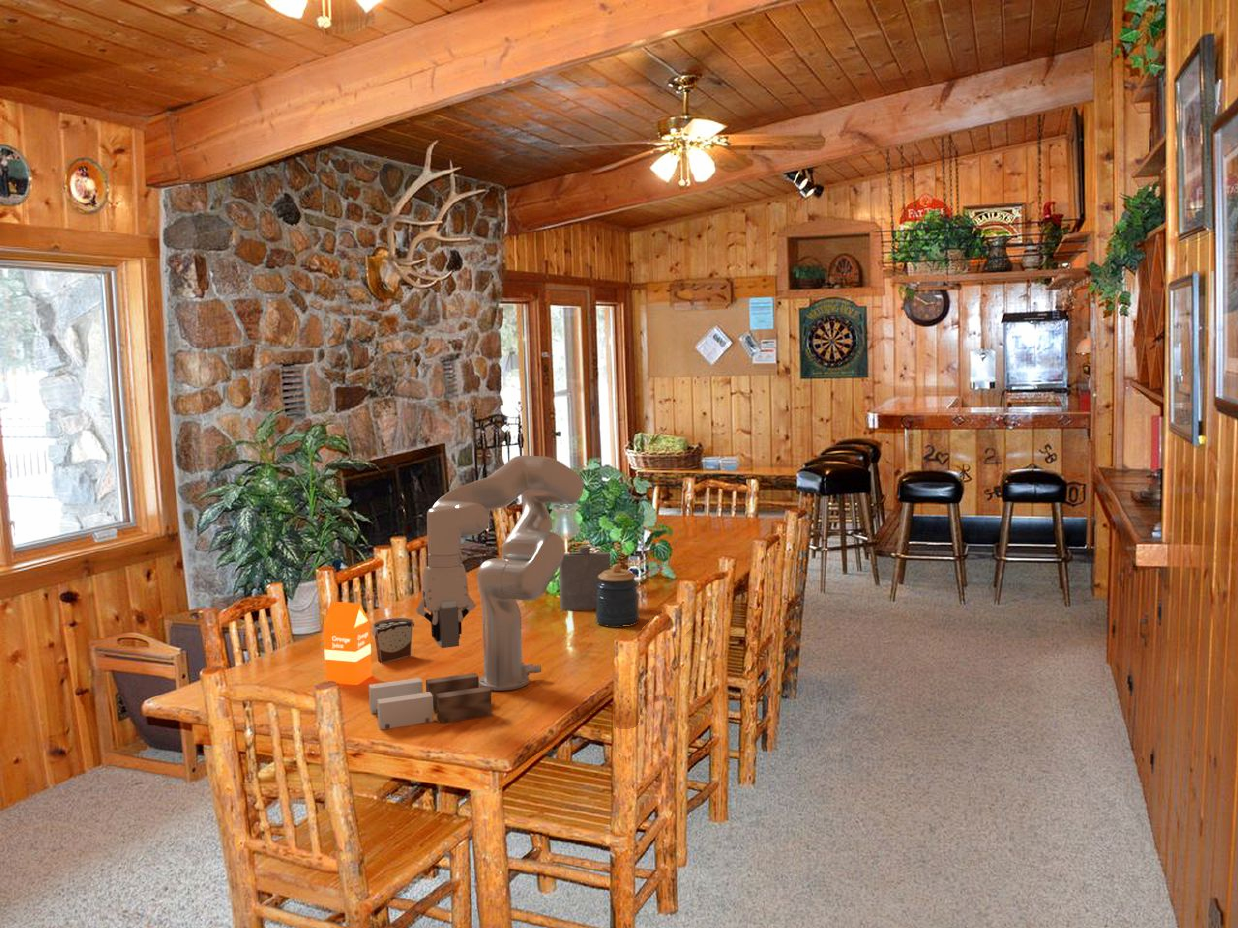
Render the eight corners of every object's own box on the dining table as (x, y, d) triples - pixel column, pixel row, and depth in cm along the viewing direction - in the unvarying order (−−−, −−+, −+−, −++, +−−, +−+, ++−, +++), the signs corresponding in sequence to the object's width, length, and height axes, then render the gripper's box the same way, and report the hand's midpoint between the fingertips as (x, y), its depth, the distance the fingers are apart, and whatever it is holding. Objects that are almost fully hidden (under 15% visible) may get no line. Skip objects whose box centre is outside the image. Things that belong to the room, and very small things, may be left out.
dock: (420, 702, 262) (419, 677, 261) (433, 721, 249) (432, 695, 248) (369, 709, 257) (368, 684, 257) (380, 729, 245) (379, 703, 244)
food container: (403, 650, 304) (401, 614, 303) (415, 654, 300) (414, 618, 299) (364, 660, 296) (362, 624, 294) (376, 664, 291) (374, 628, 290)
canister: (631, 629, 321) (630, 570, 319) (589, 626, 325) (588, 567, 323) (644, 618, 333) (643, 561, 331) (604, 615, 337) (603, 558, 335)
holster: (475, 696, 265) (475, 672, 264) (491, 715, 252) (490, 690, 251) (426, 704, 260) (425, 679, 260) (440, 723, 248) (439, 697, 247)
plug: (452, 639, 257) (451, 595, 256) (459, 645, 251) (457, 600, 250) (435, 641, 255) (434, 596, 254) (441, 648, 250) (440, 602, 249)
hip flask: (610, 605, 348) (609, 543, 346) (611, 609, 344) (610, 546, 342) (560, 607, 347) (558, 545, 344) (560, 611, 343) (559, 548, 340)
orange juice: (341, 672, 285) (338, 597, 282) (372, 675, 283) (368, 599, 280) (325, 682, 278) (321, 605, 275) (356, 685, 275) (353, 607, 273)
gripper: (475, 554, 258) (477, 630, 260) (404, 560, 251) (407, 639, 253) (484, 560, 251) (486, 638, 253) (412, 567, 244) (414, 647, 247)
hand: (446, 637), depth 253 cm, fingers closed on plug, 4 cm apart
